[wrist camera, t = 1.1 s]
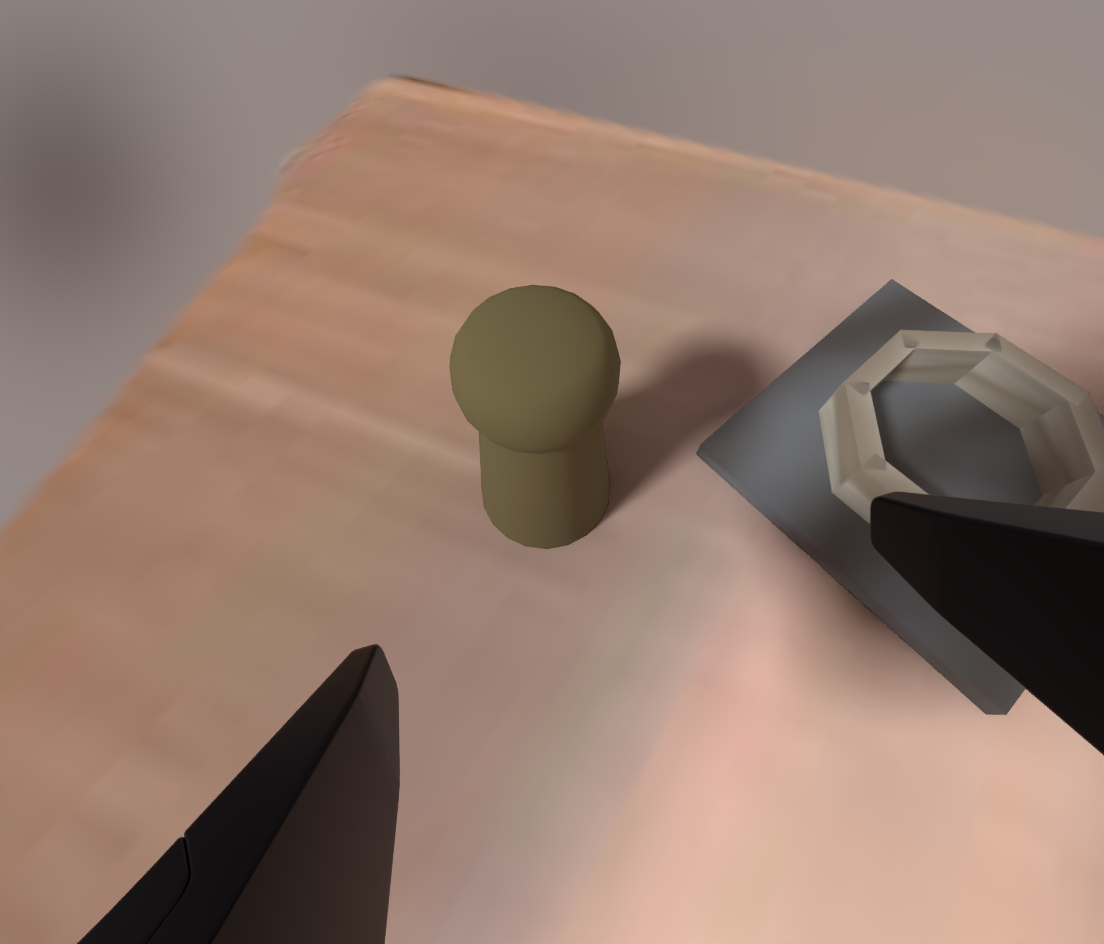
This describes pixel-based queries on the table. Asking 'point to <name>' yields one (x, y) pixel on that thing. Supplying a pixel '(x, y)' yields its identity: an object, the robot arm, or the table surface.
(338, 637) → the table surface
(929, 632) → the socket
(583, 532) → the cork
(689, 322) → the table surface
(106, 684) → the table surface
